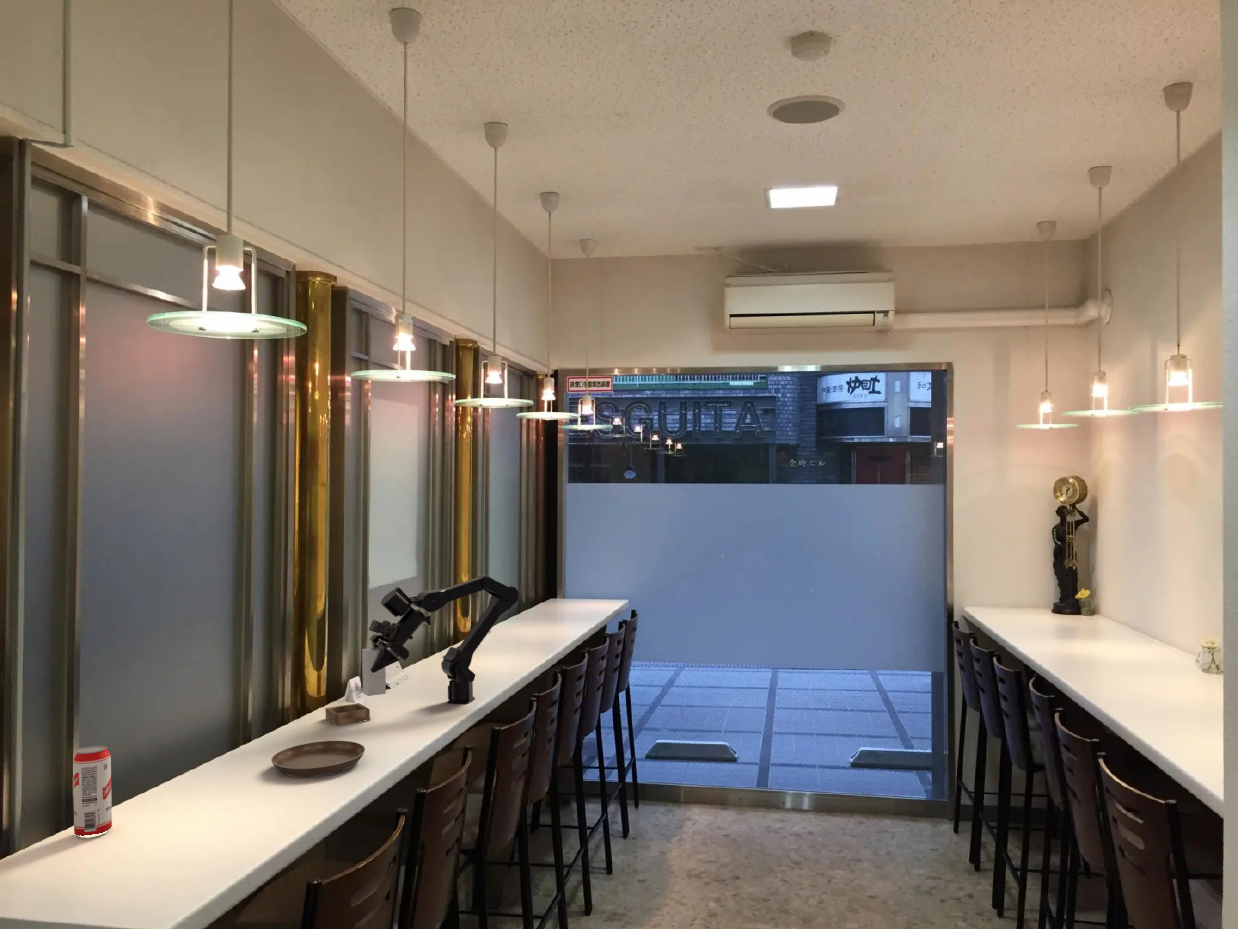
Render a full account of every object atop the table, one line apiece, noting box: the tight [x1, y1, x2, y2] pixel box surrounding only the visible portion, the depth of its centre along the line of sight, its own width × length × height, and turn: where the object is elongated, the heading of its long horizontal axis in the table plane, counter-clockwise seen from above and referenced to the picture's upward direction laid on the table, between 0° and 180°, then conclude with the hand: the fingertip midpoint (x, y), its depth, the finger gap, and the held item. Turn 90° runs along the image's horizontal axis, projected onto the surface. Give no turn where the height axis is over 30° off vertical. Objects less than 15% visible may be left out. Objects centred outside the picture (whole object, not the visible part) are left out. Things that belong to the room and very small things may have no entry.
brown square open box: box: [325, 702, 371, 726], centre depth 259 cm, size 10×10×3 cm
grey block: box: [361, 647, 387, 697], centre depth 264 cm, size 5×5×12 cm
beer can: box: [72, 744, 113, 836], centre depth 177 cm, size 6×6×16 cm
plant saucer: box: [271, 740, 366, 778], centre depth 216 cm, size 21×21×3 cm
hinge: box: [385, 661, 409, 687], centre depth 306 cm, size 17×5×10 cm, turn 172°
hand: (368, 670), depth 263 cm, fingers closed on grey block, 5 cm apart
